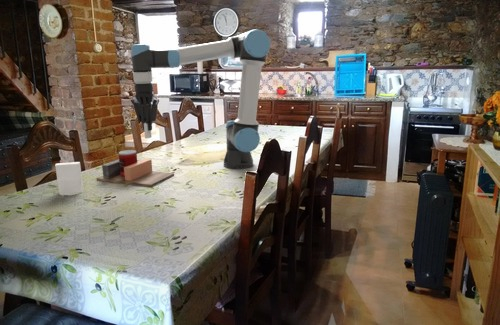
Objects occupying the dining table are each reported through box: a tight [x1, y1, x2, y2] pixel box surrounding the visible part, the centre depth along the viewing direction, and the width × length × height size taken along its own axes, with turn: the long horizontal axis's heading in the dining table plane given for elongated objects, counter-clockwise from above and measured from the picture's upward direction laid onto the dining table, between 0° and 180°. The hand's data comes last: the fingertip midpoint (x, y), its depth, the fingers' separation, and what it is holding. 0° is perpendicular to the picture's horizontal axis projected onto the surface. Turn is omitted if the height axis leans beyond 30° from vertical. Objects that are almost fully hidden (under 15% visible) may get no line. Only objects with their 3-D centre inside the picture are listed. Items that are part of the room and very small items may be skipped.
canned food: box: [118, 149, 138, 177], centre depth 170 cm, size 8×8×11 cm
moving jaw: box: [124, 158, 153, 181], centre depth 169 cm, size 3×16×6 cm, turn 160°
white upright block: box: [54, 161, 84, 196], centre depth 151 cm, size 9×9×12 cm
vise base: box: [96, 159, 175, 188], centre depth 170 cm, size 29×18×7 cm, turn 70°
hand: (148, 137), depth 163 cm, fingers closed
